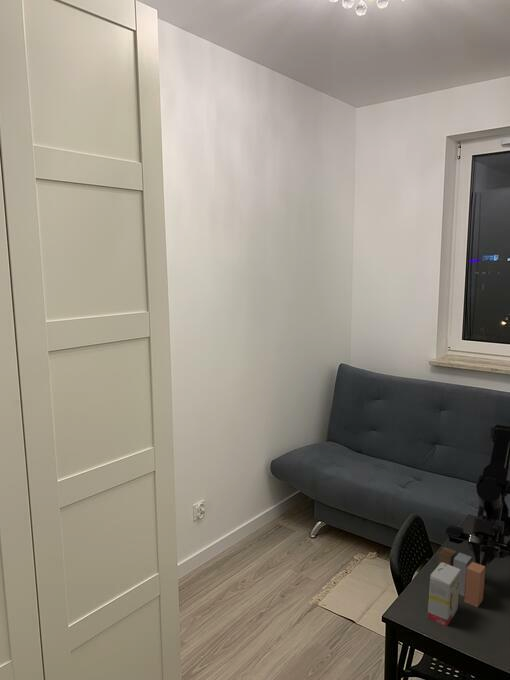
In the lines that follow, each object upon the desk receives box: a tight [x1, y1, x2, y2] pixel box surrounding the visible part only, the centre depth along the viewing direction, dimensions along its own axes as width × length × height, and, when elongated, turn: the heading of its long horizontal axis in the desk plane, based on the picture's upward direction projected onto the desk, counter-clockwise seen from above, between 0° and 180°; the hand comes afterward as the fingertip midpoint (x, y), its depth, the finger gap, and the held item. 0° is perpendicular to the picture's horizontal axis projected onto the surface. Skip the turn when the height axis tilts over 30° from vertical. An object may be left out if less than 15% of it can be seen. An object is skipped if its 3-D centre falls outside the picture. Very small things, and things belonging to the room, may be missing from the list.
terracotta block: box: [463, 561, 486, 608], centre depth 128 cm, size 4×3×9 cm
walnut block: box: [437, 546, 457, 566], centre depth 135 cm, size 4×3×9 cm
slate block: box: [453, 552, 473, 597], centre depth 133 cm, size 4×3×9 cm
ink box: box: [427, 563, 461, 627], centre depth 124 cm, size 9×5×12 cm, turn 142°
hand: (479, 575), depth 130 cm, fingers closed
